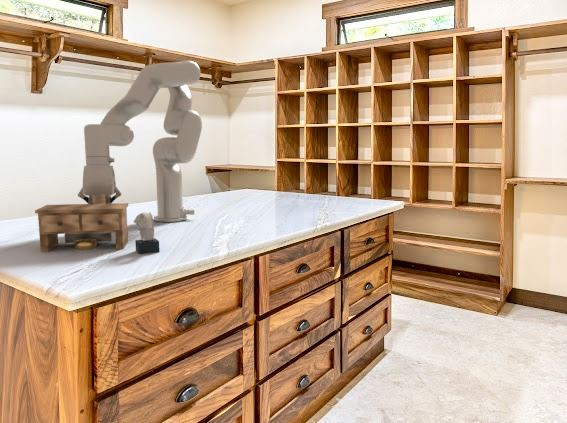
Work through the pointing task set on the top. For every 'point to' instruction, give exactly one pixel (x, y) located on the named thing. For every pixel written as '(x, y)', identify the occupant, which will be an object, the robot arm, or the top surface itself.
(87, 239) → the brass token
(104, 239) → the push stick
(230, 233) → the top surface
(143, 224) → the watch
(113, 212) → the cabinet
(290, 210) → the top surface
